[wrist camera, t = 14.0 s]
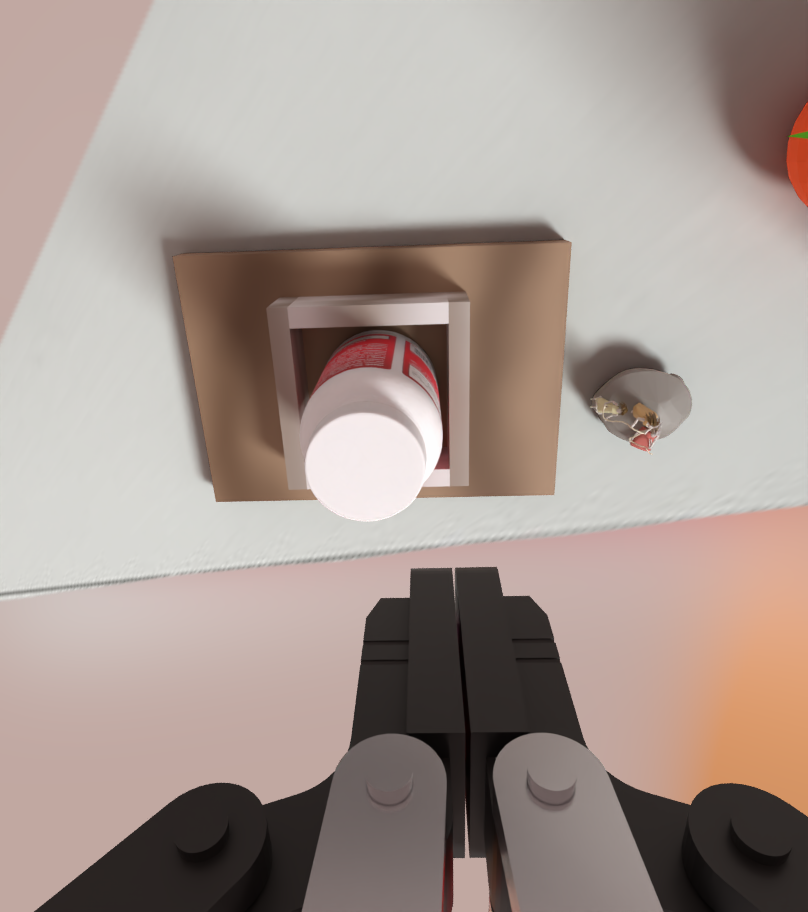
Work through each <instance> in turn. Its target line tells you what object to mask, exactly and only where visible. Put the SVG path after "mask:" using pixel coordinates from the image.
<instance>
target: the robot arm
mask: <svg viewBox="0 0 808 912" xmlns="http://www.w3.org/2000/svg"><path fill="white" fill-rule="evenodd" d="M465 801H466V814H467V826H468V827H467V828H468V842H469V855H470V858H471V857H472V858H475V857H478V858H479V857H480V858H484V857H485V858H486V862H487V872H488V883H489V912H808V817H807V816H806V815H804V814H803V813H801V812H800V811H798V810H797V809H796V808H794V807H793V806H791V805H790V804H788V803H786V802H785V801H783V800H781V799H780V798H778V797H777V796H774V795H772V794H770V793H768V792H766V791H763V790H761V789H758V788H755V787H751V786H747V785H742V784H733V783H729V784H728V783H727V784H718V785H714V786H710V787H708V788H706V789H704V790H703V791H701V792H700V793H699V794H698V795H697V796H696V797H695V798H694V800H693V801H692V804H691V805H688V804H685V803H681V802H678V801H674V800H671V799H667V798H664V797H660V796H657V795H653V794H650V793H646V792H644V791H641V790H638V789H635V788H633V787H631V786H629V785H627V784H625V783H623V782H622V781H620V780H618V779H617V778H615V777H614V776H613V775H611V774H610V773H609V772H607V771H606V770H605V768H604V766H603V765H602V763H601V762H600V761H599V759H598V758H597V757H596V756H595V755H594V754H593V753H592V752H591V751H589V749H588V748H587V746H586V743H585V741H584V738H583V735H582V732H581V728H580V725H579V722H578V718H577V715H576V711H575V708H574V705H573V701H572V698H571V694H570V691H569V687H568V684H567V681H566V677H565V674H564V670H563V667H562V664H561V663H560V657H559V653H558V650H557V647H556V643H554V636H553V633H552V630H551V626H550V623H549V620H548V616H547V614H546V613H545V612H544V611H543V610H542V609H541V608H540V607H539V606H538V605H537V604H536V603H535V602H534V601H533V599H532V598H531V597H530V596H503V593H502V588H501V583H500V578H499V573H498V569H497V567H476V568H474V567H472V568H471V567H470V568H455V599H454V587H453V575H452V568H422V569H421V568H418V569H411V578H410V598H381V599H380V600H379V602H378V603H377V604H376V606H375V607H374V608H373V610H372V611H371V612H370V614H369V615H368V616H367V618H366V624H365V632H364V640H363V649H362V656H361V665H360V672H359V680H358V688H357V696H356V705H355V712H354V720H353V728H352V736H351V742H350V747H349V749H348V752H347V753H346V754H345V755H344V756H343V758H342V759H341V760H340V762H339V764H338V765H337V767H336V770H335V772H334V773H332V774H331V775H330V776H329V777H328V778H327V779H326V780H324V781H323V782H321V783H320V784H319V785H317V786H315V787H313V788H311V789H309V790H307V791H305V792H302V793H300V794H297V795H294V796H290V797H287V798H284V799H281V800H278V801H274V802H271V803H268V804H265V805H262V804H261V802H260V800H259V799H258V798H257V797H256V796H255V794H254V793H252V792H251V791H249V790H248V789H246V788H244V787H242V786H239V785H236V784H231V783H214V784H208V785H204V786H200V787H197V788H195V789H192V790H190V791H188V792H186V793H184V794H182V795H180V796H179V797H177V798H176V799H175V800H173V801H172V802H170V803H169V804H168V805H166V806H165V807H164V808H163V809H161V810H160V811H159V812H158V813H156V814H155V815H154V816H153V817H152V818H150V819H149V820H148V821H147V822H145V823H144V824H143V825H142V826H140V827H139V828H138V829H137V830H135V831H134V832H133V833H132V834H130V835H129V836H128V837H127V838H125V839H124V840H123V841H122V842H120V843H119V844H118V845H117V846H115V847H114V848H113V849H112V850H110V851H109V852H108V853H107V854H105V855H104V856H103V857H102V858H101V859H99V860H98V861H97V862H96V863H94V864H93V865H92V866H90V867H89V868H88V869H87V870H86V871H84V872H83V873H82V874H80V875H79V876H78V877H77V878H76V879H74V880H73V881H72V882H71V883H69V884H68V885H67V886H65V887H64V888H63V889H62V890H61V891H59V892H58V893H57V894H56V895H54V896H53V897H52V898H51V899H49V900H48V901H47V902H46V903H44V904H43V905H42V906H41V907H39V908H38V909H37V910H36V911H34V912H451V911H452V907H453V858H465Z"/></svg>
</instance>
